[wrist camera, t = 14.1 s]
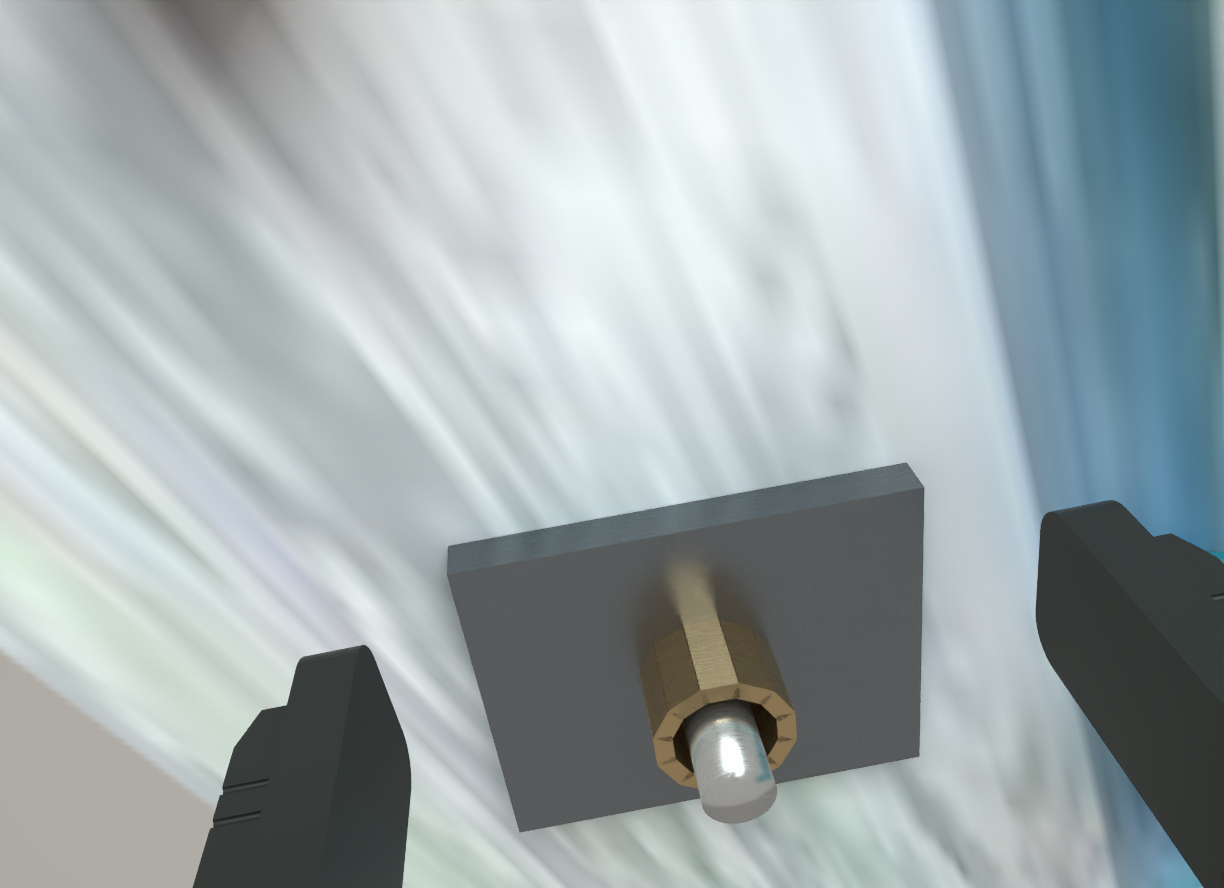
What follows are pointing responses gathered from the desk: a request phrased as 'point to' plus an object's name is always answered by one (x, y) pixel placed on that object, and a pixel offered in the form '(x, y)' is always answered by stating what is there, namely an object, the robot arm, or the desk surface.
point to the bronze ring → (713, 690)
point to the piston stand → (688, 594)
